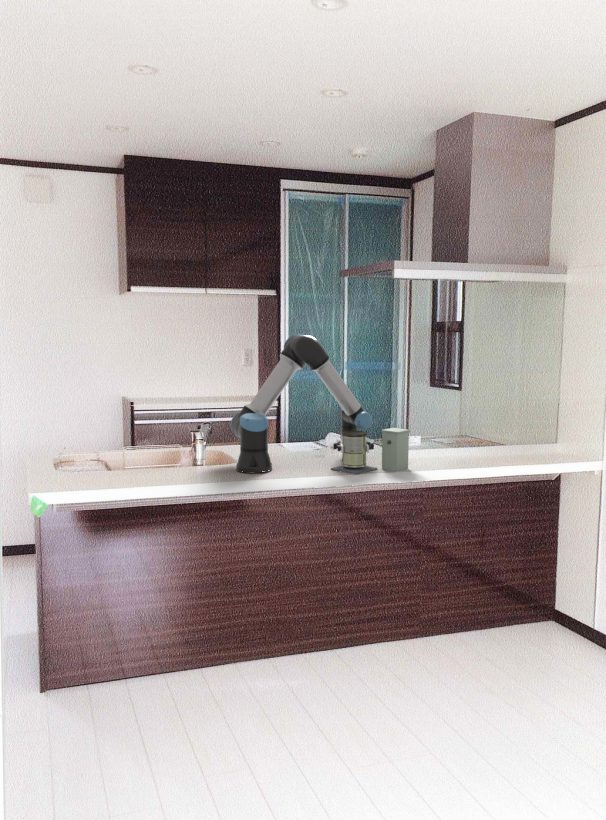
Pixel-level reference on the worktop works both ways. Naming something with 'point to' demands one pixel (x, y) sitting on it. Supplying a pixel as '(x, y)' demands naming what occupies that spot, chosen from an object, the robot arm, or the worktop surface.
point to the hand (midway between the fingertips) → (355, 449)
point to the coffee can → (354, 449)
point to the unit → (395, 449)
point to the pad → (354, 469)
